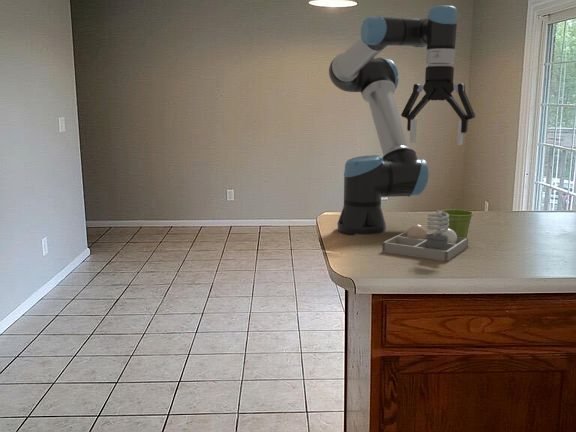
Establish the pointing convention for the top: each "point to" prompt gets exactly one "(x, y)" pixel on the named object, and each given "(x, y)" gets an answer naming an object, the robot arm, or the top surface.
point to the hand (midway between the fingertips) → (435, 143)
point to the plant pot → (459, 221)
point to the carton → (423, 247)
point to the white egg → (450, 236)
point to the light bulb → (437, 238)
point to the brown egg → (417, 232)
